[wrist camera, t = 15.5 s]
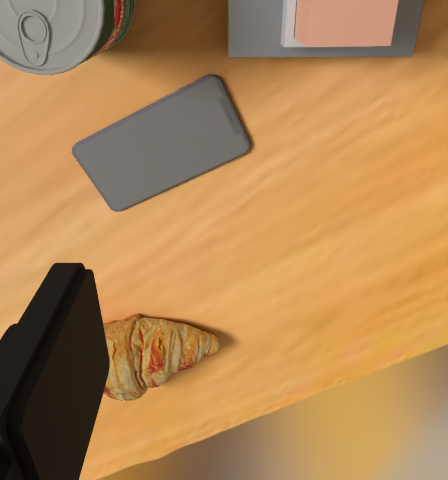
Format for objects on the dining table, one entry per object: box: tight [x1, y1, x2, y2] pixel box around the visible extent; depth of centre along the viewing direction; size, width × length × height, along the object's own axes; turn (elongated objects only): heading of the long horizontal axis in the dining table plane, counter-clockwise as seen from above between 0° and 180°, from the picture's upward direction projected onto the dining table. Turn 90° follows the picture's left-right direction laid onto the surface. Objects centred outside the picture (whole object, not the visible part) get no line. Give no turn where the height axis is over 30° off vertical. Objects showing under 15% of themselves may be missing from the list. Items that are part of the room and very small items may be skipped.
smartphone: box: [72, 75, 250, 212], centre depth 39 cm, size 8×1×15 cm
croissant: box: [103, 315, 220, 401], centre depth 49 cm, size 21×10×8 cm, turn 100°
